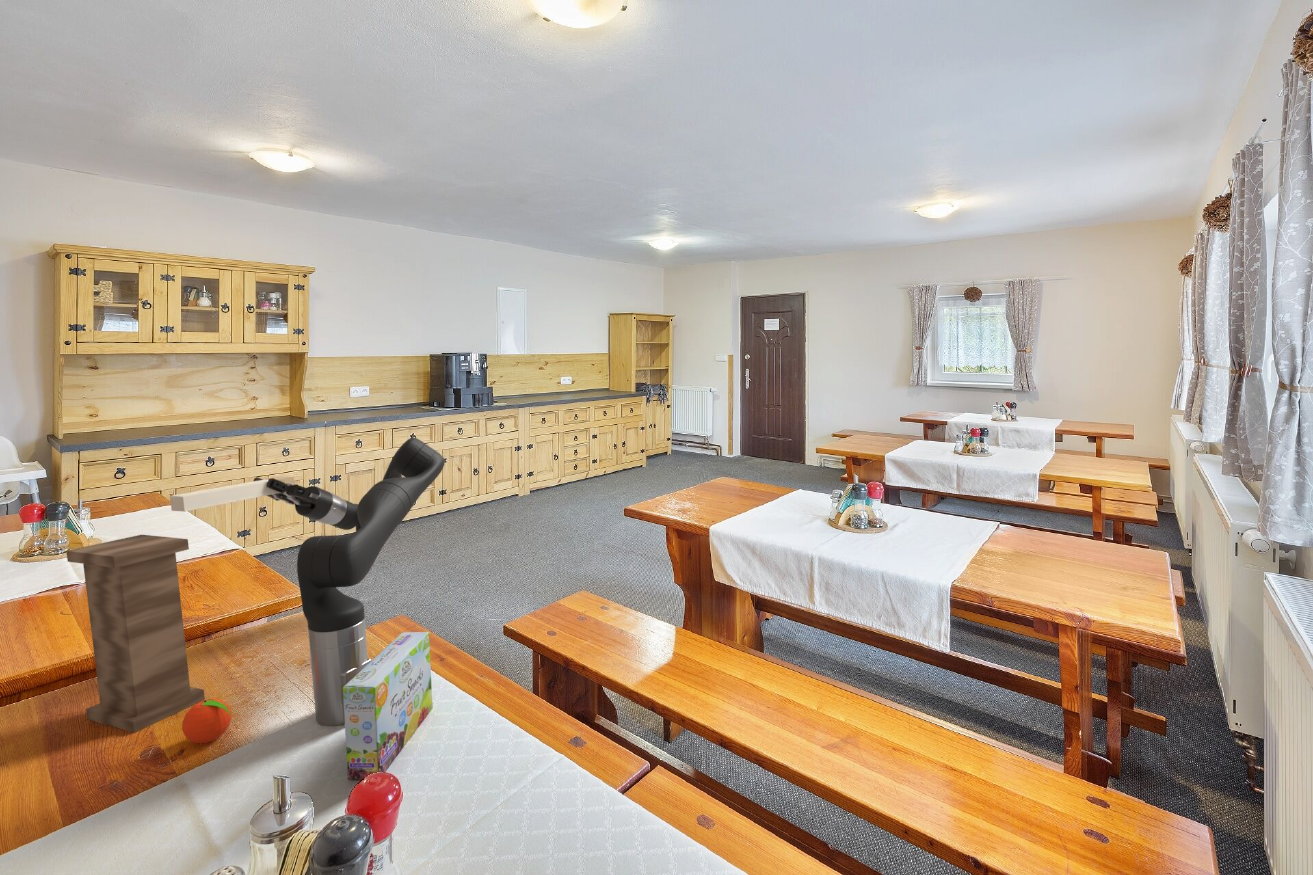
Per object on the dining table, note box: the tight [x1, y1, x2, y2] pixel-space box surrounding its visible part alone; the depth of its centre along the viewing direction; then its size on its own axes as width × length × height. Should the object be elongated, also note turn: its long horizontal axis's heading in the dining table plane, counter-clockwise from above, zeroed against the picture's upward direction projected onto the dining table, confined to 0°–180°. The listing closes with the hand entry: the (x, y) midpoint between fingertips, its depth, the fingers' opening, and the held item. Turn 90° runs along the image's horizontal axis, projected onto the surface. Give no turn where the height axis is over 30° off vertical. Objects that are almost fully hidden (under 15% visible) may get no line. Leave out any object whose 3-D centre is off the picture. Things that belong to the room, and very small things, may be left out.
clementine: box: [181, 698, 233, 744], centre depth 106 cm, size 8×7×7 cm
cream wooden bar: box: [169, 475, 295, 513], centre depth 133 cm, size 4×24×3 cm, turn 159°
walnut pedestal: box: [65, 534, 206, 733], centre depth 116 cm, size 14×12×32 cm
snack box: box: [343, 631, 434, 781], centre depth 104 cm, size 21×6×15 cm, turn 179°
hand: (261, 482), depth 138 cm, fingers closed on cream wooden bar, 4 cm apart
